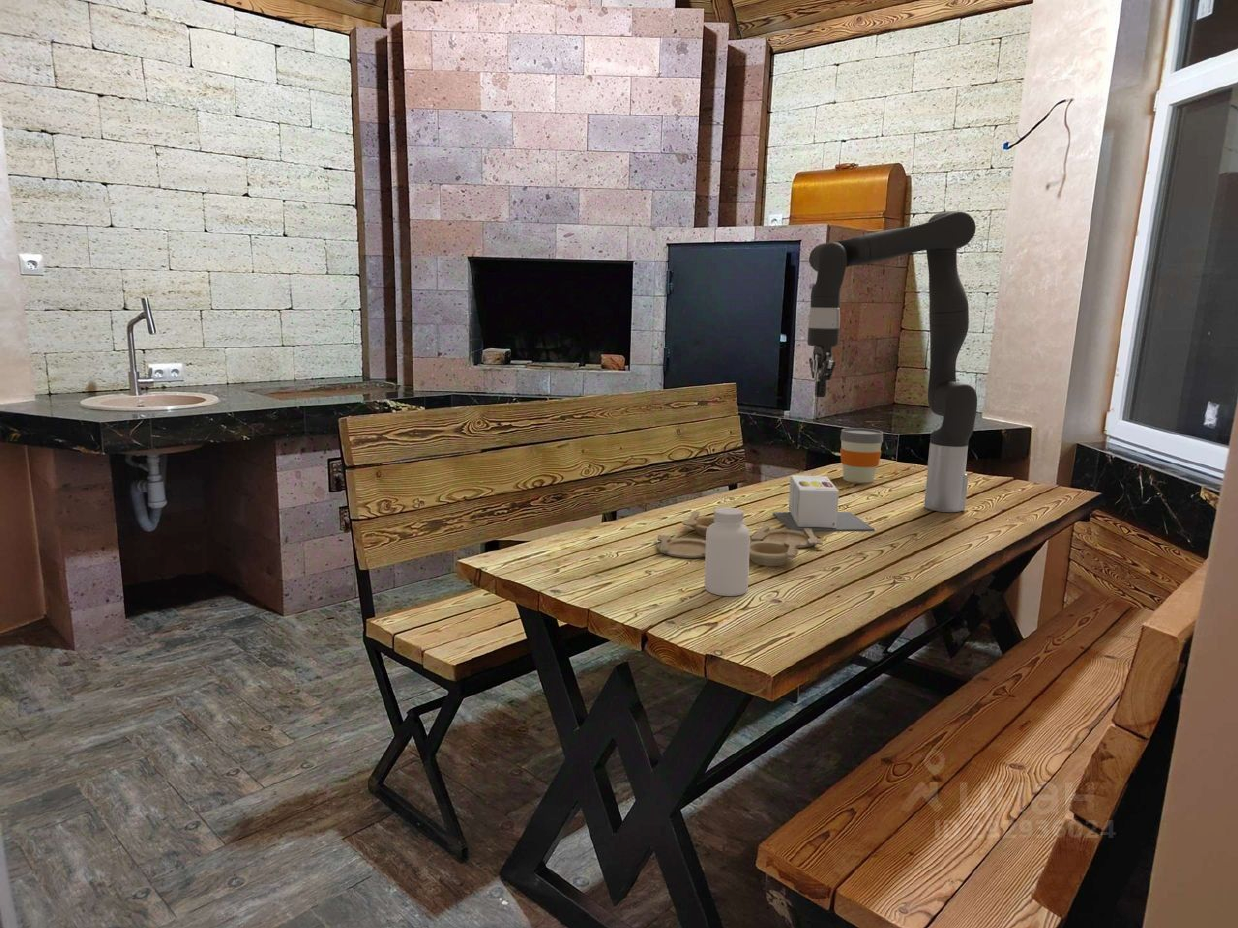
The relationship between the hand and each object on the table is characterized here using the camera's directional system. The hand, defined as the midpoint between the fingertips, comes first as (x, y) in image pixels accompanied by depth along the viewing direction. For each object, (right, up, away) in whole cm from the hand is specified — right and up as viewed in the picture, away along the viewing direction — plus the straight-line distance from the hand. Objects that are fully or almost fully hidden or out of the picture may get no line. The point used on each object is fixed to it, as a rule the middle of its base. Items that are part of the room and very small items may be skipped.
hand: (819, 396), depth 204 cm
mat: (-1, -31, -5) cm, 31 cm away
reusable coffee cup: (+23, -22, +45) cm, 55 cm away
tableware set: (-24, -35, -26) cm, 50 cm away
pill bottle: (-31, -40, -54) cm, 74 cm away
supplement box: (-2, -24, +3) cm, 25 cm away
